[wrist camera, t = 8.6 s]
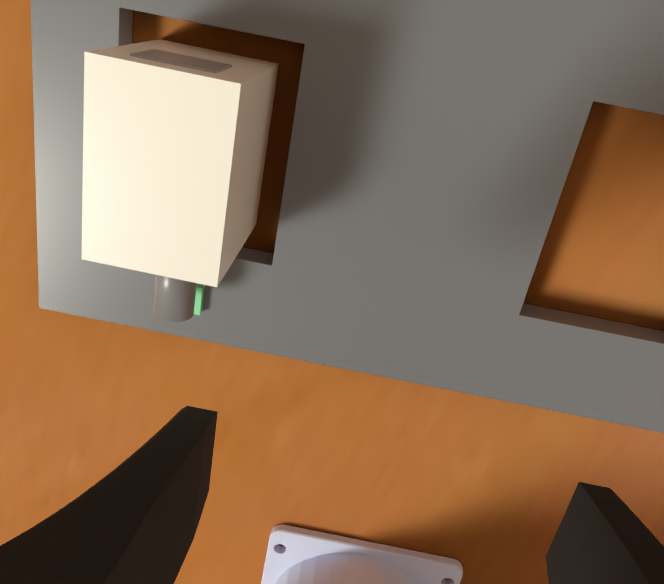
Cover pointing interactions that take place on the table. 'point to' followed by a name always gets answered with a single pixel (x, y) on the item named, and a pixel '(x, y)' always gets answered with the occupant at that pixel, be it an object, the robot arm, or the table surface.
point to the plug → (173, 162)
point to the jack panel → (390, 191)
